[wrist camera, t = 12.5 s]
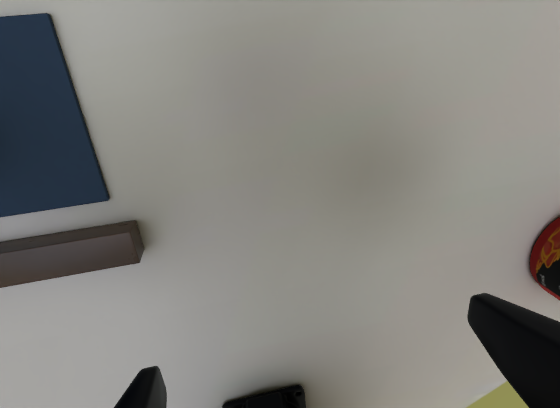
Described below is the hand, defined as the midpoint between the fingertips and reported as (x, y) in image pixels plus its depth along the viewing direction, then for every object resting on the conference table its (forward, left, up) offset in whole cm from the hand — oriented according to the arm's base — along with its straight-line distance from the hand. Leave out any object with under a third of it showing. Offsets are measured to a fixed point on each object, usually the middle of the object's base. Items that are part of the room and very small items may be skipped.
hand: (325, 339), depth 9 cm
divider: (-2, +15, -12) cm, 19 cm away
